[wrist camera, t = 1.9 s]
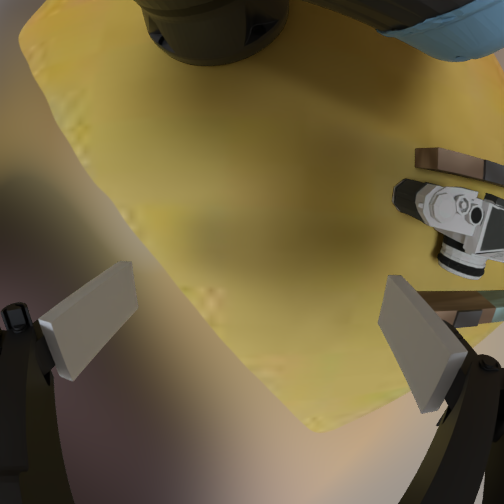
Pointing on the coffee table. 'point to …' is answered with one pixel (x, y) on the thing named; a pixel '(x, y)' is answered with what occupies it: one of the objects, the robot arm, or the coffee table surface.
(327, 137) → the coffee table surface
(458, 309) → the rail
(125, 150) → the coffee table surface
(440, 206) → the camera
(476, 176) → the rail
